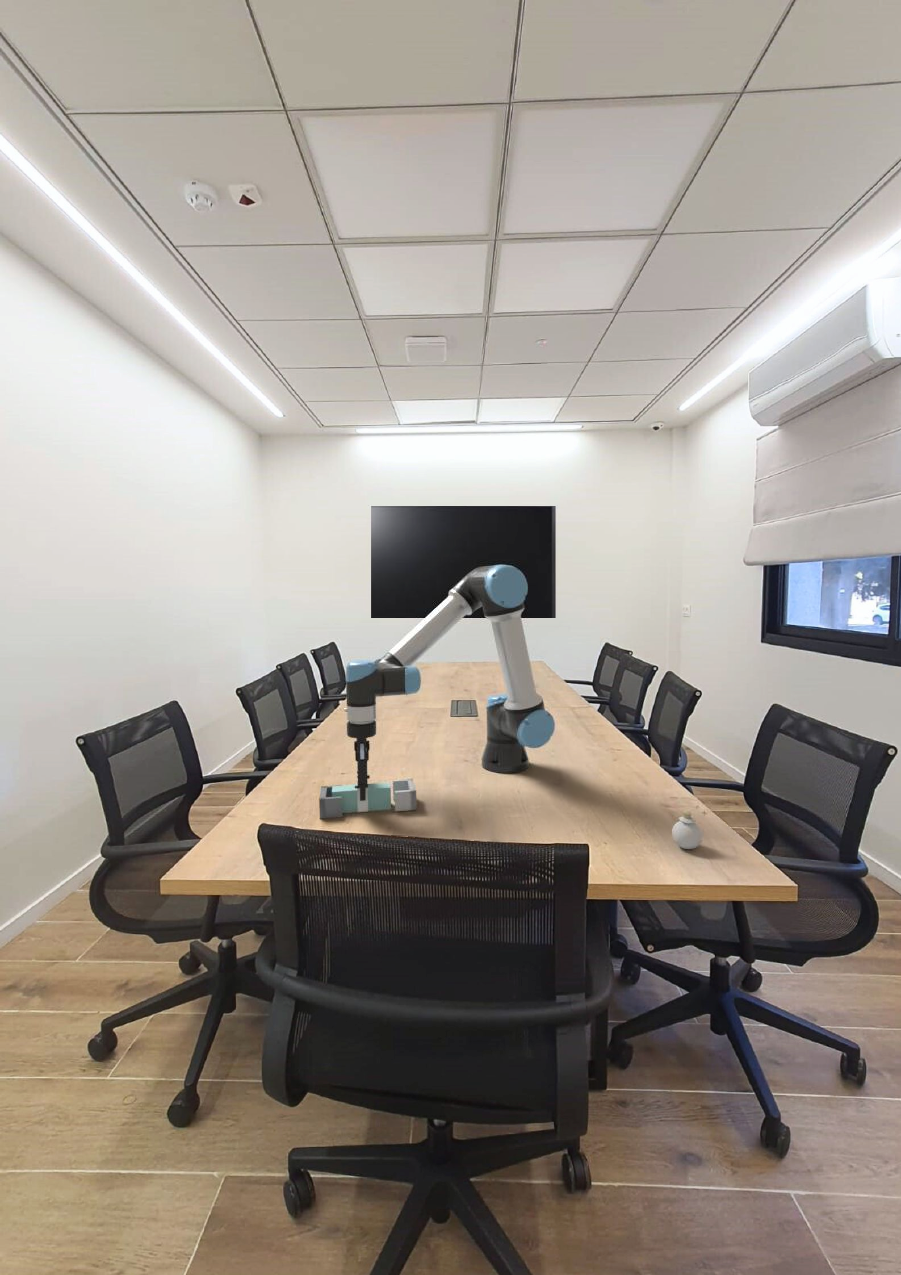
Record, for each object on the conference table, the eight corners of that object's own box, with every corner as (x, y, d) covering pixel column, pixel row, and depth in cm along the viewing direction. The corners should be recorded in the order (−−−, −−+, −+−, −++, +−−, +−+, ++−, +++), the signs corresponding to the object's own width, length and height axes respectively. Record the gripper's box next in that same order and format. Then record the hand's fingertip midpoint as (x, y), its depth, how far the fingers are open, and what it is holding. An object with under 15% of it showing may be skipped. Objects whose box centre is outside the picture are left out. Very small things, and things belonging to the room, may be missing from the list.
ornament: (668, 840, 122) (669, 798, 121) (702, 841, 122) (703, 798, 121) (676, 854, 116) (678, 809, 115) (712, 855, 116) (714, 810, 115)
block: (390, 803, 145) (389, 782, 145) (391, 809, 142) (390, 787, 141) (333, 808, 143) (332, 786, 142) (332, 814, 139) (331, 792, 138)
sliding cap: (413, 796, 149) (412, 778, 149) (416, 809, 140) (416, 790, 140) (393, 797, 148) (392, 780, 148) (395, 811, 139) (394, 792, 139)
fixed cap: (342, 802, 146) (342, 784, 145) (342, 816, 137) (341, 797, 137) (322, 804, 145) (321, 786, 144) (319, 818, 136) (319, 799, 136)
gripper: (347, 713, 148) (348, 796, 150) (346, 729, 131) (347, 822, 133) (374, 712, 149) (376, 794, 151) (377, 728, 132) (378, 820, 134)
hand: (362, 807), depth 142 cm, fingers open, 4 cm apart
